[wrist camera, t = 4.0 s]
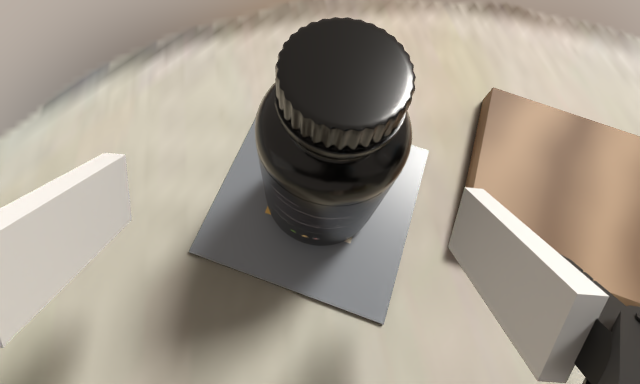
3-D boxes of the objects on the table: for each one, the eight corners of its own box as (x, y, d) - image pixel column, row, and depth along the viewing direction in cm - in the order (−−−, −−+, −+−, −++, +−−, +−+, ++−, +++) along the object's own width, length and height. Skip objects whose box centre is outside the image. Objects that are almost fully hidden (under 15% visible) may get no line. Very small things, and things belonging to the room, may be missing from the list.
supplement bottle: (285, 136, 25) (285, -29, 14) (382, 166, 24) (462, 23, 13) (248, 230, 22) (211, 119, 11) (356, 264, 22) (430, 187, 11)
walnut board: (638, 152, 27) (657, 142, 26) (639, 312, 22) (662, 311, 21) (482, 100, 28) (493, 87, 26) (452, 246, 23) (463, 240, 22)
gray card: (427, 152, 25) (429, 150, 25) (382, 324, 21) (383, 324, 21) (267, 96, 26) (267, 94, 26) (189, 252, 21) (188, 251, 21)
